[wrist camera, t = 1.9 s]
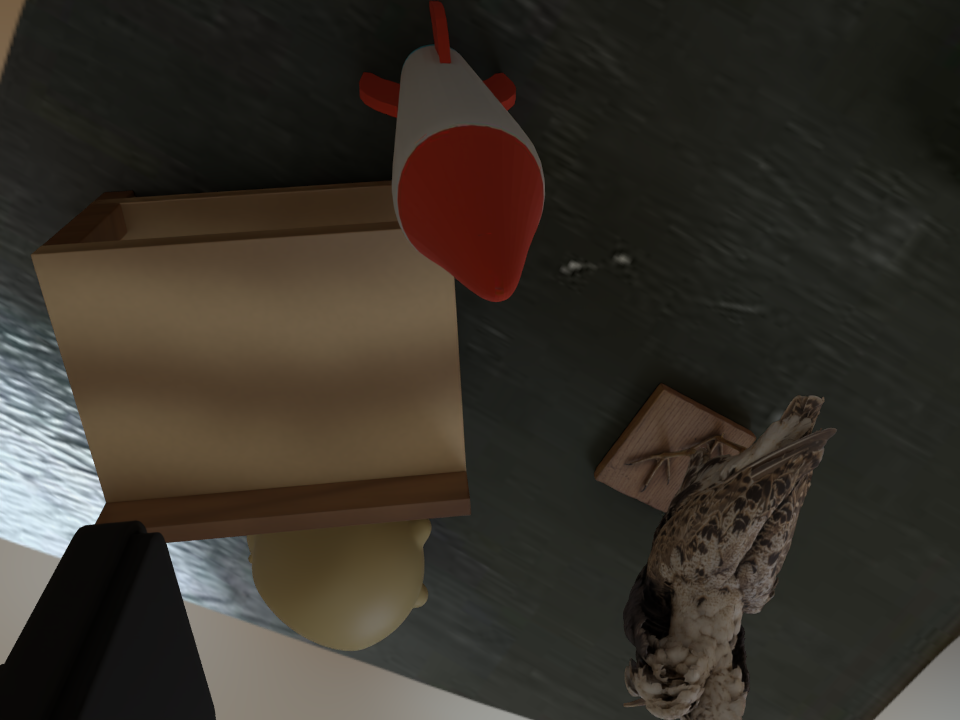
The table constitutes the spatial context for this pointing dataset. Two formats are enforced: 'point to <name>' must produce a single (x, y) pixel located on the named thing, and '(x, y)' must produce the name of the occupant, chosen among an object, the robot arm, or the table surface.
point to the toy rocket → (460, 165)
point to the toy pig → (342, 579)
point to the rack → (259, 360)
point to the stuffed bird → (707, 543)
